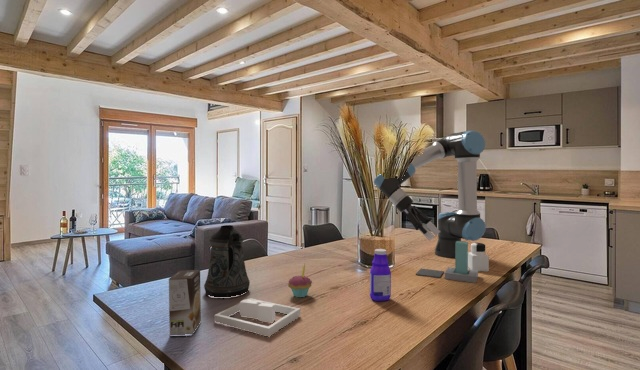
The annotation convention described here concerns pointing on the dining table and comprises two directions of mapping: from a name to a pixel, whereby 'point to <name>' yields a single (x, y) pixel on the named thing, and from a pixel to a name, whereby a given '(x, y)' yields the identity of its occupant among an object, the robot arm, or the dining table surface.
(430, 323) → the dining table surface
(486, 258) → the medicine bottle
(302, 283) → the cupcake
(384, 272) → the bottle
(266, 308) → the napkin holder
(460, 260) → the plug
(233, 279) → the beer stein
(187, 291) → the coffee box
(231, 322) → the holder frame
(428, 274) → the mat
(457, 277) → the socket block
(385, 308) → the dining table surface
